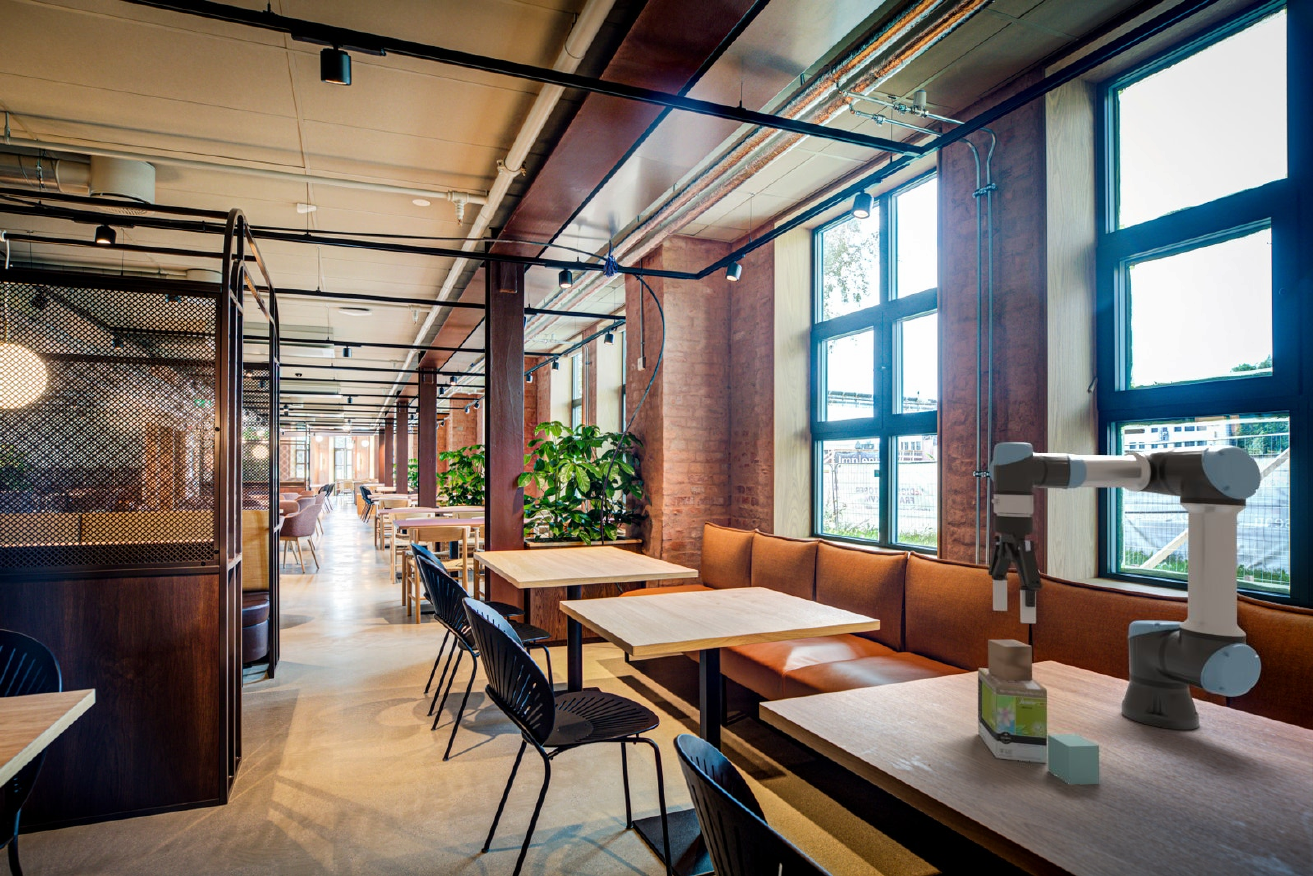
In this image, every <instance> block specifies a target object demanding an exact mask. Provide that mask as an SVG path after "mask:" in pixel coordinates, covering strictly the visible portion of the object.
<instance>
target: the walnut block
mask: <svg viewBox="0 0 1313 876" xmlns="http://www.w3.org/2000/svg"><path fill="white" fill-rule="evenodd" d="M987 644H988V645H987V649H988V650H987V653H988V654H987V655H988V659H987V661H988V663H987V664H988V665H987V667H988V673H990V674H992V675H994V676H996V677H998V678H1000V679H1002V680H1005V681H1025V680H1032V678H1033V646H1032V645H1030V644H1026V643H1024V642H1021V641H1019V640H1016V639H988V641H987Z"/></svg>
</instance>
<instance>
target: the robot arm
mask: <svg viewBox="0 0 1313 876" xmlns="http://www.w3.org/2000/svg"><path fill="white" fill-rule="evenodd" d="M993 449H994V450H993V455H992V457H993V460H992V461H991V463H990V465H989V469H988V473H989V477H990V479H991V481H992V482H993V498H992V499H991V503H992V504H993V513H994V514H996V515H994V517H993V532H994V533H995V534H1001V535H994V536H993V547H992V552H991V557H990V561H989V562H990V563H989V567H988V572H987V573H988V575H989V576H991V579H992V610H993V611H1001V612H1003V611H1004V612H1005V611H1006V612H1008V580H1009V579H1008V576H1007V575H1008V572H1009V569H1010V567H1011V564H1012V563H1013V564H1014V566H1015V570H1016V572H1017V576H1018V578H1019V581H1020V584H1021V585H1020V587H1019V588H1018V590H1019V593H1020V594H1019V595H1020V597H1019V598H1020V599H1019V600H1020V601H1019V602H1020V603H1019V605H1020V606H1019V607H1020V613H1019V614H1020V618H1019V619H1020V623H1021V624H1036V623H1037V596H1036V595H1037V591H1038V590H1040V589H1041V590H1042V588H1043V583H1042V580H1041V575H1040V571H1039V566H1038V561H1037V557H1036V552H1035V542H1034V540H1026V536H1030V535H1032V534H1033V533H1034V518H1033V517H1032V516H1031V515H1033V514H1034V489H1035V488H1036V489H1038V488H1039V489H1040V488H1041V489H1063V490H1068V489H1076V488H1124V489H1125V490H1126V491H1129V492H1134V493H1135V492H1137V493H1138V492H1141V493H1142V492H1143V493H1151V494H1159V495H1164V496H1165V495H1166V496H1174V497H1179V504H1180V506H1182V507H1183V509H1185V511H1187V514H1188V516H1187V517H1188V519H1187V522H1188V523H1187V527H1188V528H1187V529H1188V530H1187V532H1188V533H1187V535H1188V536H1187V541H1188V542H1187V618H1186V619H1185V620H1184V621H1183V622H1182V621H1174V620H1173V621H1172V620H1171V621H1170V620H1133V621H1132V622H1131V623H1130V624H1129V626H1128V635H1127V645H1128V648H1127V649H1128V669H1129V680H1128V681H1129V683H1128V685H1127V689H1126V691H1125V694H1124V698H1123V700H1122V702H1121V714H1122V715H1123V716H1124V717H1126V718H1127V719H1130V720H1132V721H1135V722H1138V723H1141V724H1145V725H1149V726H1153V727H1159V728H1163V729H1169V730H1171V729H1172V730H1194V729H1198V728H1199V727H1200V715H1199V713H1198V711H1197V709H1196V705H1195V702H1194V700H1193V697H1192V694H1191V692H1190V686H1192V687H1195V688H1198V689H1200V690H1205V692H1208V693H1210V694H1214V695H1215V694H1216V695H1221V696H1225V697H1233V698H1234V697H1238V696H1239V697H1240V696H1242V695H1244V694H1246V693H1248V692H1250V690H1251V688H1253V687H1254V686H1255V685H1256V684H1257V682H1258V680H1259V679H1260V675H1261V670H1262V664H1261V659H1260V656H1259V655H1258V654H1257V652H1256V650H1255V649H1253V648H1252V647H1251V646H1249V645H1247V641H1246V640H1247V634H1246V632H1245V631H1244V630H1243V629H1241V627H1239V625H1238V619H1237V618H1238V541H1237V540H1238V514H1239V513H1241V512H1242V511H1243V510H1245V509H1246V508H1247V499H1248V498H1251V497H1252V496H1254V495H1255V494H1256V493H1257V491H1256V490H1258V489H1259V488H1260V486H1261V482H1262V481H1261V480H1262V476H1261V471H1260V468H1259V465H1258V463H1257V462H1256V460H1255V458H1254V457H1252V456H1251V455H1250V453H1249V452H1247V450H1245V449H1244V448H1243V449H1242V448H1241V447H1238V446H1235V445H1227V444H1226V445H1224V444H1210V445H1198V446H1197V445H1196V446H1175V447H1167V448H1160V449H1155V450H1154V449H1153V450H1145V451H1129V452H1127V453H1124V454H1123V455H1078V454H1072V453H1067V452H1065V453H1059V452H1058V453H1056V452H1055V453H1050V452H1047V453H1045V452H1044V453H1043V452H1041V453H1039V452H1034V448H1033V445H1032V444H1031V443H1029V442H1016V441H1015V442H1013V441H1012V442H999V443H997V444H996V445H994V448H993Z"/></svg>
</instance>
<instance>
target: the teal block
mask: <svg viewBox="0 0 1313 876" xmlns="http://www.w3.org/2000/svg"><path fill="white" fill-rule="evenodd" d="M1047 770H1049V771H1050V772H1051V773H1050V772H1049V773H1050V774H1052V773H1053V774H1055V775H1057V776H1058V777H1059V778H1058V777H1057V778H1058V779H1060V778H1062V779H1063V780H1064V781H1066V782H1065V783H1066V784H1067V783H1069V784H1071V785H1070V786H1073V784H1080V785H1096V784H1095V783H1100V777H1101V776H1100V745H1098V743H1097V744H1096V743H1095V742H1093V741H1091V740H1089V739H1087V738H1084V737H1083V736H1081V735H1079V734H1077V733H1072V734H1047ZM1053 774H1052V775H1053ZM1055 775H1054V776H1055ZM1063 780H1062V781H1063ZM1064 781H1063V782H1064ZM1093 783H1094V784H1093ZM1069 784H1068V785H1069Z"/></svg>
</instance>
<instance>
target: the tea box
mask: <svg viewBox="0 0 1313 876" xmlns="http://www.w3.org/2000/svg"><path fill="white" fill-rule="evenodd" d="M977 670H978V672H977V691H978V692H977V699H978V700H977V733H978V735H979V736H980V737H981V738H982V740H983V741H984V743H985V745H986V746H987V747H988V749H989V750H990V752H992V754H993V755H994V757H995V758H996V759H1000V760H1001V759H1002V760H1009V761H1018V760H1019V761H1020V762H1029V761H1030V762H1031V763H1041V764H1042V763H1044V764H1045V763H1046V764H1047V763H1048V690H1047V688H1045V686H1043V685H1042V684H1041V683H1039V682H1038V681H1037V680H1035V679H1034V678H1033V677H1032V680H1025V681H1005V680H1002V679H1000V678H998V677H996V676H994V675H992V674H990V673H988V668H985V667H978V669H977ZM1019 761H1018V762H1019ZM1030 762H1029V763H1030Z"/></svg>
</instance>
